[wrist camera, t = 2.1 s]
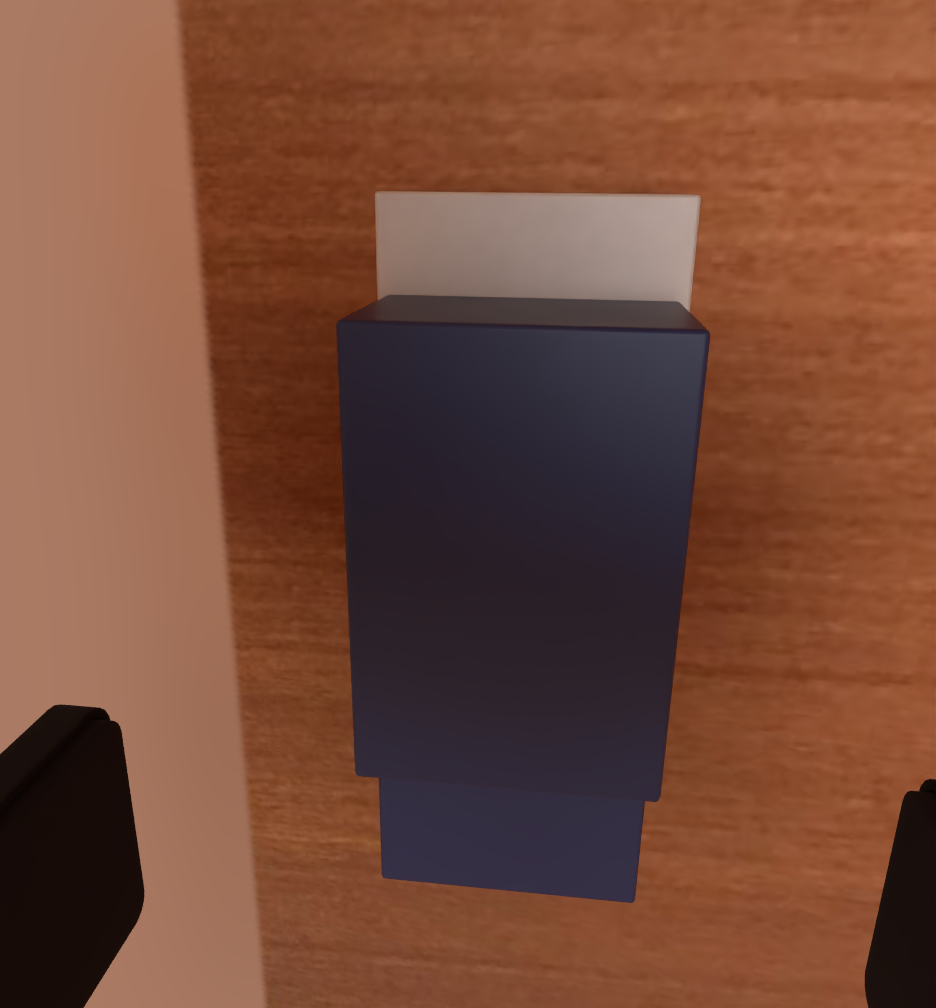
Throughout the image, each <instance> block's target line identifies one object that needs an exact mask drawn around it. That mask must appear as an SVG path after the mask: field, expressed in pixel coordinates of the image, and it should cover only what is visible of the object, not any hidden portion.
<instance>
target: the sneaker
mask: <svg viewBox="0 0 936 1008" xmlns="http://www.w3.org/2000/svg"><path fill="white" fill-rule="evenodd" d="M700 204H701V197H700V195H697V194H616V193H522V192H427V191H378V192H376V193H375V226H376V265H377V301H375V302H374V303H372V304H370V305H368V306H366V307H364V308H362V309H360V310H358V311H356V312H354V313H352V314H350V315H348V316H346V317H344V318H343V319H341V320H339V321H338V322H337V325H336V330H337V353H338V377H339V400H340V424H341V447H342V471H343V495H344V518H345V542H346V565H347V589H348V612H349V636H350V659H351V683H352V706H353V730H354V754H355V772H356V775H358V776H364V777H376V778H379V796H380V828H381V860H382V876H383V878H387V879H397V880H407V881H417V882H427V883H438V884H448V885H458V886H468V887H478V888H488V889H498V890H508V891H518V892H528V893H538V894H548V895H558V896H568V897H578V898H588V899H598V900H608V901H618V902H628V903H632V902H634V900H635V893H636V883H637V873H638V864H639V854H640V844H641V834H642V824H643V814H644V804H645V801H653V802H656V801H658V800H659V798H660V795H661V786H662V777H663V767H664V758H665V749H666V740H667V730H668V721H669V712H670V703H671V693H672V684H673V675H674V666H675V656H676V647H677V638H678V629H679V620H680V610H681V601H682V592H683V583H684V573H685V564H686V555H687V546H688V536H689V527H690V518H691V509H692V499H693V490H694V481H695V472H696V463H697V453H698V444H699V435H700V426H701V416H702V407H703V398H704V389H705V379H706V370H707V361H708V352H709V342H710V333H709V331H708V330H707V329H706V328H705V327H704V326H703V325H702V324H701V323H700V322H699V321H698V320H697V319H696V318H695V317H694V316H693V315H692V314H691V313H690V305H691V295H692V285H693V275H694V265H695V255H696V244H697V234H698V224H699V214H700Z"/></svg>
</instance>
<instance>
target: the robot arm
mask: <svg viewBox="0 0 936 1008" xmlns="http://www.w3.org/2000/svg"><path fill="white" fill-rule="evenodd" d="M143 902H144V885H143V878H142V871H141V865H140V857H139V850H138V843H137V836H136V829H135V823H134V815H133V808H132V802H131V794H130V788H129V780H128V774H127V766H126V759H125V753H124V747H123V739H122V732H121V729H120V726H119V724H118V723H117V722H115V721H110V718H109V715H108V714H107V712H106V711H105V710H104V709H101V708H96V707H84V706H73V705H55V706H53V707H52V708H50V709H49V710H47V711H46V712H45V713H44V714H43V715H42V716H41V717H40V718H39V719H38V720H37V721H36V722H35V723H33V725H31V726H30V727H29V728H28V729H27V730H26V731H25V732H24V733H23V734H22V735H20V736H19V737H18V739H16V740H15V741H14V742H13V743H12V744H11V745H10V746H9V747H8V748H7V749H6V750H4V751H3V752H2V753H1V754H0V1008H84V1006H85V1004H86V1003H87V1001H88V1000H89V998H90V997H91V995H92V993H93V992H94V990H95V989H96V987H97V985H98V984H99V982H100V981H101V979H102V977H103V976H104V974H105V972H106V971H107V969H108V968H109V966H110V964H111V963H112V961H113V960H114V958H115V956H116V955H117V953H118V952H119V950H120V949H121V947H122V945H123V944H124V942H125V941H126V939H127V937H128V936H129V934H130V933H131V931H132V929H133V928H134V926H135V925H136V923H137V921H138V919H139V916H140V913H141V911H142V906H143ZM865 992H866V998H867V1003H868V1007H869V1008H936V780H935V779H929V780H926V781H924V783H923V784H922V785H921V787H920V790H919V791H909V792H907V793H906V795H905V796H904V799H903V802H902V806H901V811H900V815H899V820H898V825H897V829H896V834H895V838H894V843H893V847H892V852H891V856H890V861H889V866H888V870H887V875H886V879H885V884H884V888H883V893H882V897H881V902H880V906H879V911H878V916H877V920H876V925H875V929H874V934H873V938H872V943H871V947H870V952H869V956H868V961H867V966H866V971H865Z"/></svg>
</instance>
